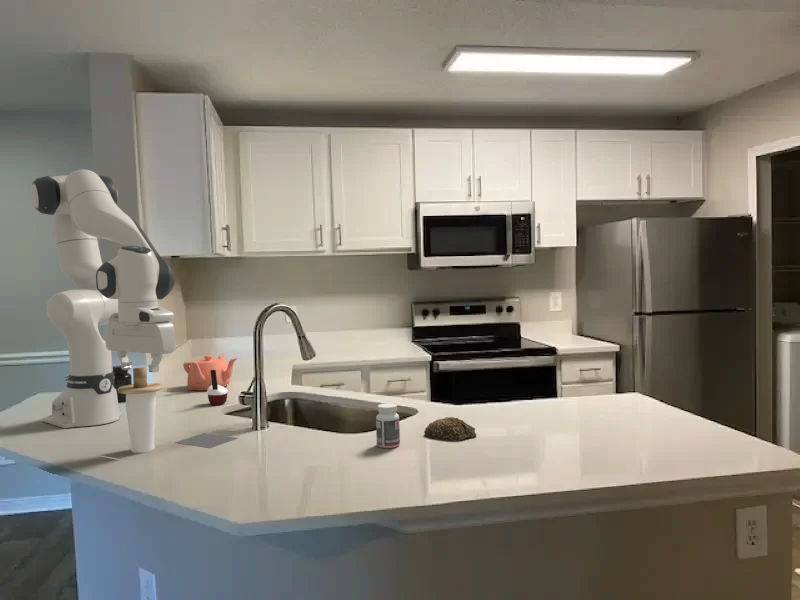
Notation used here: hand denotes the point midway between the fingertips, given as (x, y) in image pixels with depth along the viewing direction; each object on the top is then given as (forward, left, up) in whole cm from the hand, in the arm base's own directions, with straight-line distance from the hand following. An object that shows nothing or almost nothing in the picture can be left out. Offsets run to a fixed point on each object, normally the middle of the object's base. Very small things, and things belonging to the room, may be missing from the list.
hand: (140, 370), depth 150 cm
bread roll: (+62, +45, -20) cm, 79 cm away
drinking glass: (0, 0, -20) cm, 20 cm away
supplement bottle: (-58, +40, -20) cm, 73 cm away
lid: (0, 0, -5) cm, 5 cm away
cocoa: (-23, +49, -20) cm, 58 cm away
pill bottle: (+52, +29, -20) cm, 63 cm away
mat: (+8, +13, -20) cm, 25 cm away
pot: (-47, +71, -20) cm, 87 cm away
